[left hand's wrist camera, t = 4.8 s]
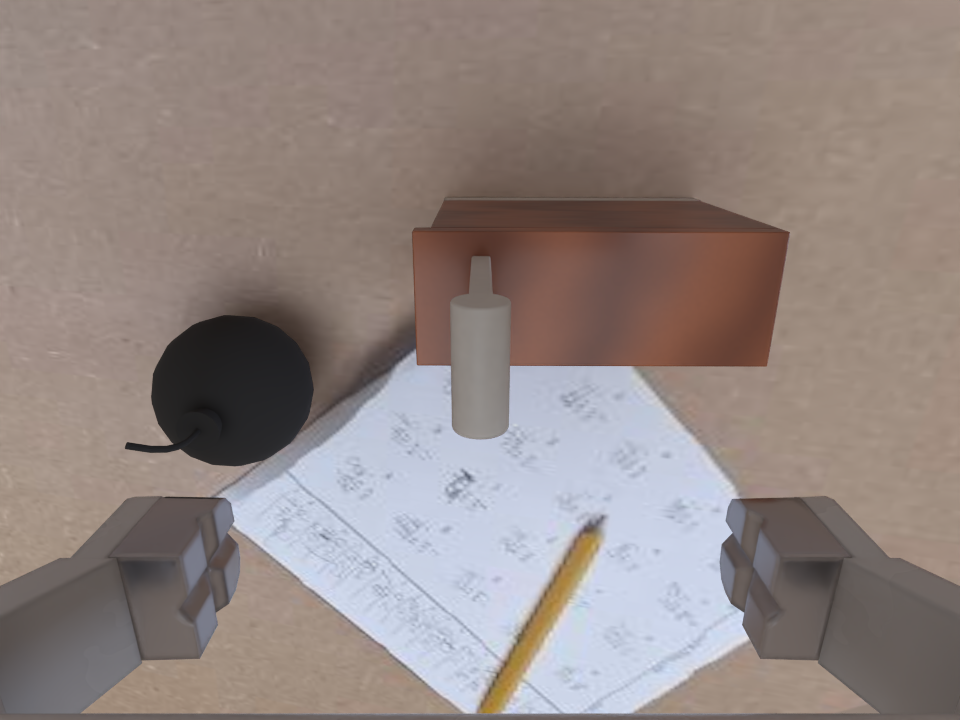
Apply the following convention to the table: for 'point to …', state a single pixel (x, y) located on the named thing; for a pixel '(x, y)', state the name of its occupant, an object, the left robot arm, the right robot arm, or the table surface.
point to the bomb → (230, 391)
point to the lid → (587, 303)
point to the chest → (587, 213)
